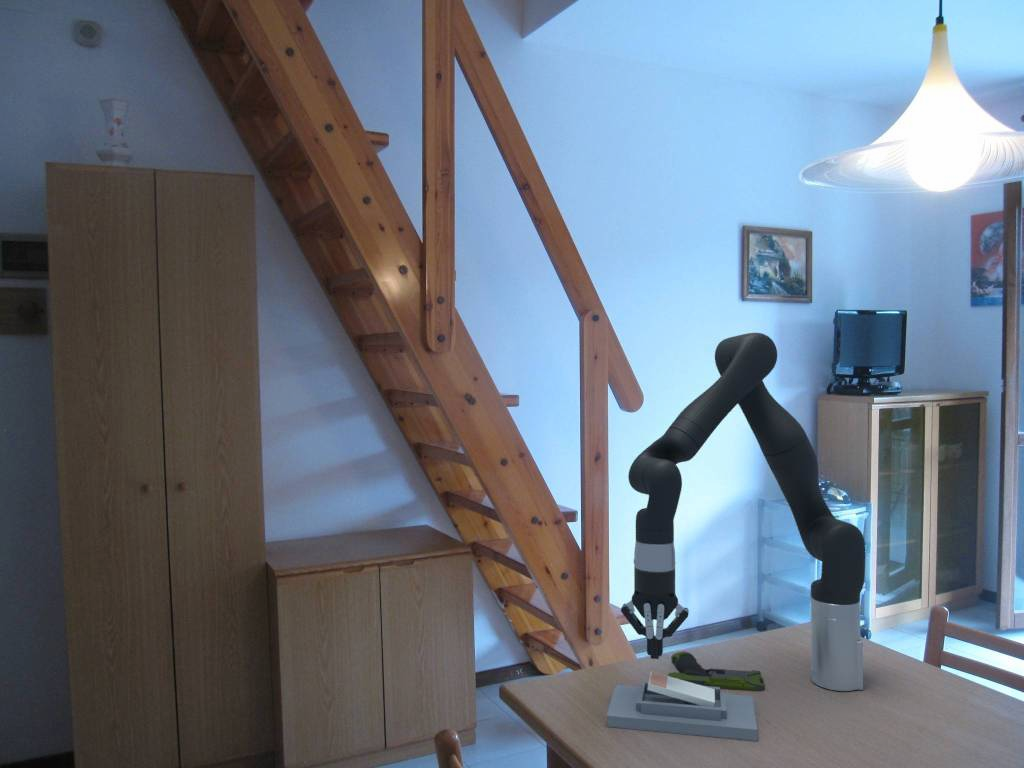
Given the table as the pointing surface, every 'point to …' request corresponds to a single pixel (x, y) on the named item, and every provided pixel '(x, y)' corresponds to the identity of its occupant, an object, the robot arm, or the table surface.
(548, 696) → the table surface
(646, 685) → the panel
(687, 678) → the gun
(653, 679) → the rocker
